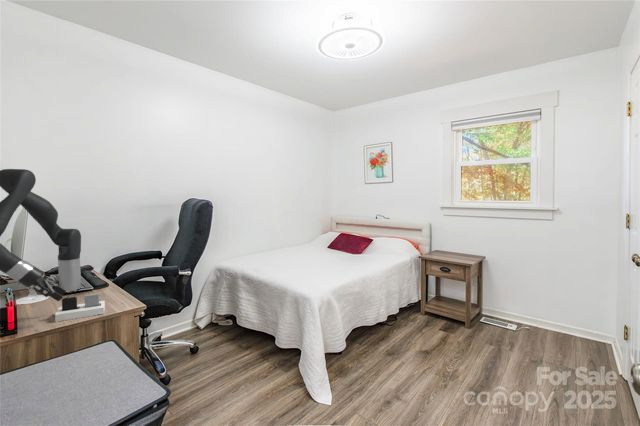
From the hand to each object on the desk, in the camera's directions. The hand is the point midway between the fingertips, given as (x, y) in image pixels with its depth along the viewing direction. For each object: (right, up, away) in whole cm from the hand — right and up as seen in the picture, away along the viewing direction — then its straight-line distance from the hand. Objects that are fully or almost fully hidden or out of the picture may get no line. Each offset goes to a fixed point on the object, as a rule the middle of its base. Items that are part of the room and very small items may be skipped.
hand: (62, 296), depth 136 cm
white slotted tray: (+5, -9, +4) cm, 11 cm away
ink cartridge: (+2, -9, +2) cm, 10 cm away
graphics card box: (-35, -5, +46) cm, 58 cm away
